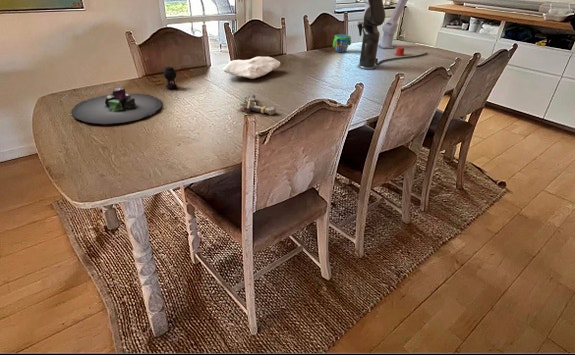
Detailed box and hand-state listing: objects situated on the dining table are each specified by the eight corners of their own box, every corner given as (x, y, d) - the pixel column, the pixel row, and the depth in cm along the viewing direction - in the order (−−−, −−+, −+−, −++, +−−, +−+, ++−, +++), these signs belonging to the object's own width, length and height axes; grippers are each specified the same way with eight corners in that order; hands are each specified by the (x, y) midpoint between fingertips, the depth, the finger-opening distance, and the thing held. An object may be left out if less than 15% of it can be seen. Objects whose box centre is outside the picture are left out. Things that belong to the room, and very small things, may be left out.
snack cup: (344, 48, 256) (346, 33, 251) (354, 52, 249) (356, 36, 243) (327, 50, 249) (328, 35, 243) (337, 54, 241) (338, 38, 236)
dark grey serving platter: (174, 113, 149) (170, 91, 144) (79, 131, 131) (72, 107, 127) (148, 93, 173) (144, 73, 169) (65, 106, 156) (59, 85, 151)
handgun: (275, 94, 165) (242, 93, 164) (275, 109, 150) (239, 108, 149) (275, 100, 167) (242, 99, 166) (275, 115, 152) (239, 114, 151)
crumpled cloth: (210, 71, 195) (210, 54, 190) (264, 61, 214) (265, 46, 208) (233, 90, 182) (233, 73, 176) (288, 78, 201) (290, 62, 195)
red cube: (396, 55, 245) (398, 48, 243) (395, 53, 250) (396, 46, 247) (404, 55, 245) (405, 48, 243) (402, 54, 250) (403, 46, 247)
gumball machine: (165, 90, 172) (162, 69, 166) (163, 86, 176) (159, 65, 171) (180, 88, 175) (177, 67, 169) (177, 85, 179) (174, 64, 174)
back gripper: (360, 15, 245) (357, 36, 252) (380, 15, 247) (377, 36, 254) (356, 14, 250) (354, 34, 258) (376, 14, 253) (373, 34, 260)
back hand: (365, 35), depth 256 cm, fingers open, 7 cm apart
